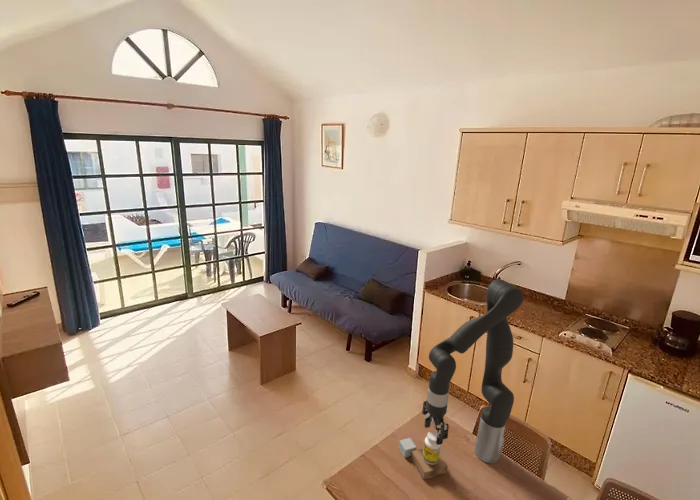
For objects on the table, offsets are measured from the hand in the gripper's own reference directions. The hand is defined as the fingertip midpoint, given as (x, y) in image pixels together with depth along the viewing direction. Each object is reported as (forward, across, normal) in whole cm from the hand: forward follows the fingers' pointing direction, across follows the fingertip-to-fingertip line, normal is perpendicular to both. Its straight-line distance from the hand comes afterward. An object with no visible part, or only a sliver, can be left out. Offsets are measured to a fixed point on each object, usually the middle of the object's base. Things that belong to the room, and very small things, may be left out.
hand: (432, 435), depth 137 cm
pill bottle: (+11, 0, 0) cm, 11 cm away
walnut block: (+15, 0, 0) cm, 15 cm away
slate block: (+15, +8, +5) cm, 18 cm away
